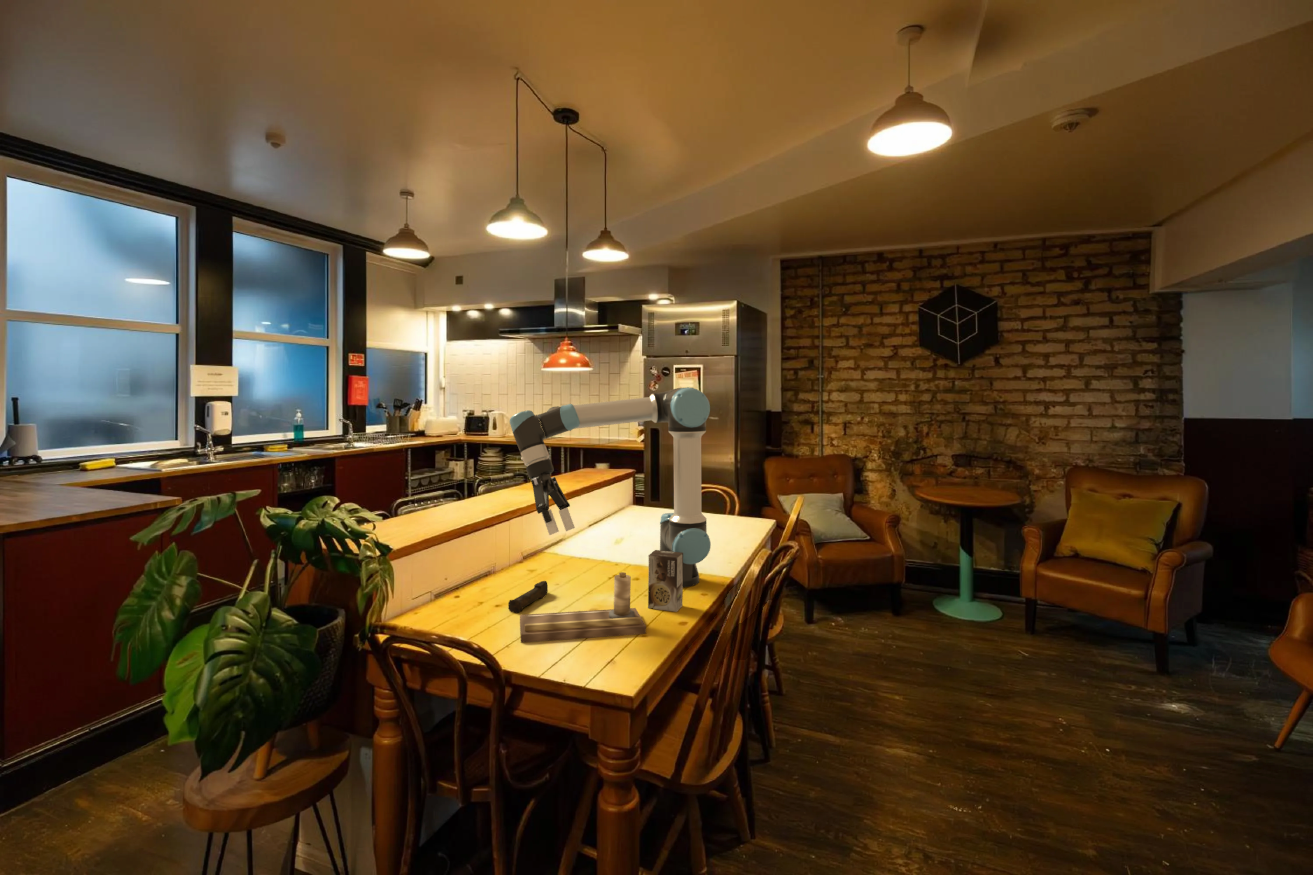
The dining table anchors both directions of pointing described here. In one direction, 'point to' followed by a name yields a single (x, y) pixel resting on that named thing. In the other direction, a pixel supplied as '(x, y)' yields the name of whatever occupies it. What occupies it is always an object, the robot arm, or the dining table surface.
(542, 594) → the hand tool
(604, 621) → the walnut board
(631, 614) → the peg with round base
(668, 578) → the coffee box
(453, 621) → the dining table surface
